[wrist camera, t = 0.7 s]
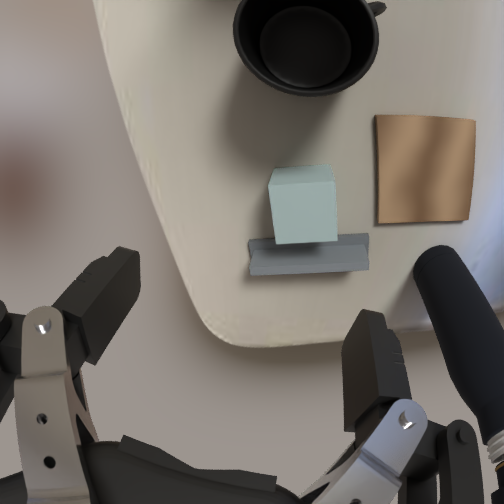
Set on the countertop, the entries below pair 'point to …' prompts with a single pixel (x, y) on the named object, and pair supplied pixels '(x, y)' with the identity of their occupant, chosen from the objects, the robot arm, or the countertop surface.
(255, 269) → the grey angle bar
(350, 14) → the mug
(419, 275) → the wine bottle
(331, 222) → the letter cube
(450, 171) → the coaster
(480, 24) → the countertop surface
